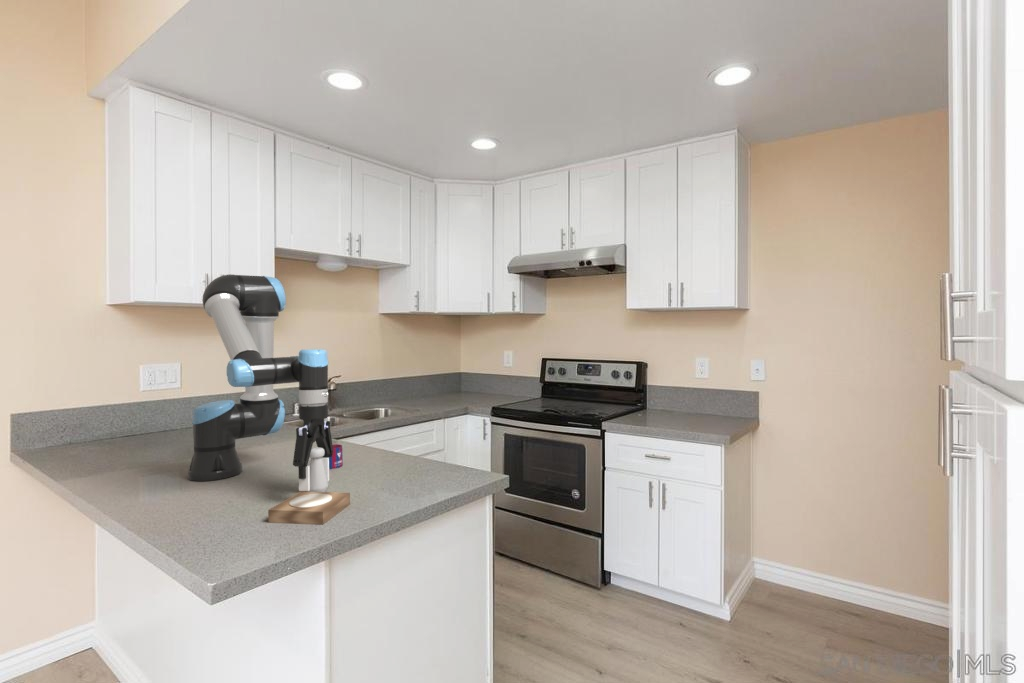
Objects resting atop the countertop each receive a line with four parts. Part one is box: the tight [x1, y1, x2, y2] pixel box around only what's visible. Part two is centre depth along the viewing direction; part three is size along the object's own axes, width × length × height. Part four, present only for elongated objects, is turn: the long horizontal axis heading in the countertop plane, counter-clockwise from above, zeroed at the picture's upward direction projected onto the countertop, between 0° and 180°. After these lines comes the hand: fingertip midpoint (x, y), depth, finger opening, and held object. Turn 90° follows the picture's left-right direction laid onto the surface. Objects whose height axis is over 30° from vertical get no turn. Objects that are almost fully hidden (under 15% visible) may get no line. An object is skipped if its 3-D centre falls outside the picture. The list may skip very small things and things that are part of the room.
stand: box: [267, 491, 351, 525], centre depth 129 cm, size 14×14×3 cm
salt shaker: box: [307, 447, 329, 492], centre depth 143 cm, size 6×6×13 cm
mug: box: [329, 443, 344, 470], centre depth 174 cm, size 7×10×7 cm
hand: (314, 485), depth 142 cm, fingers open, 10 cm apart
